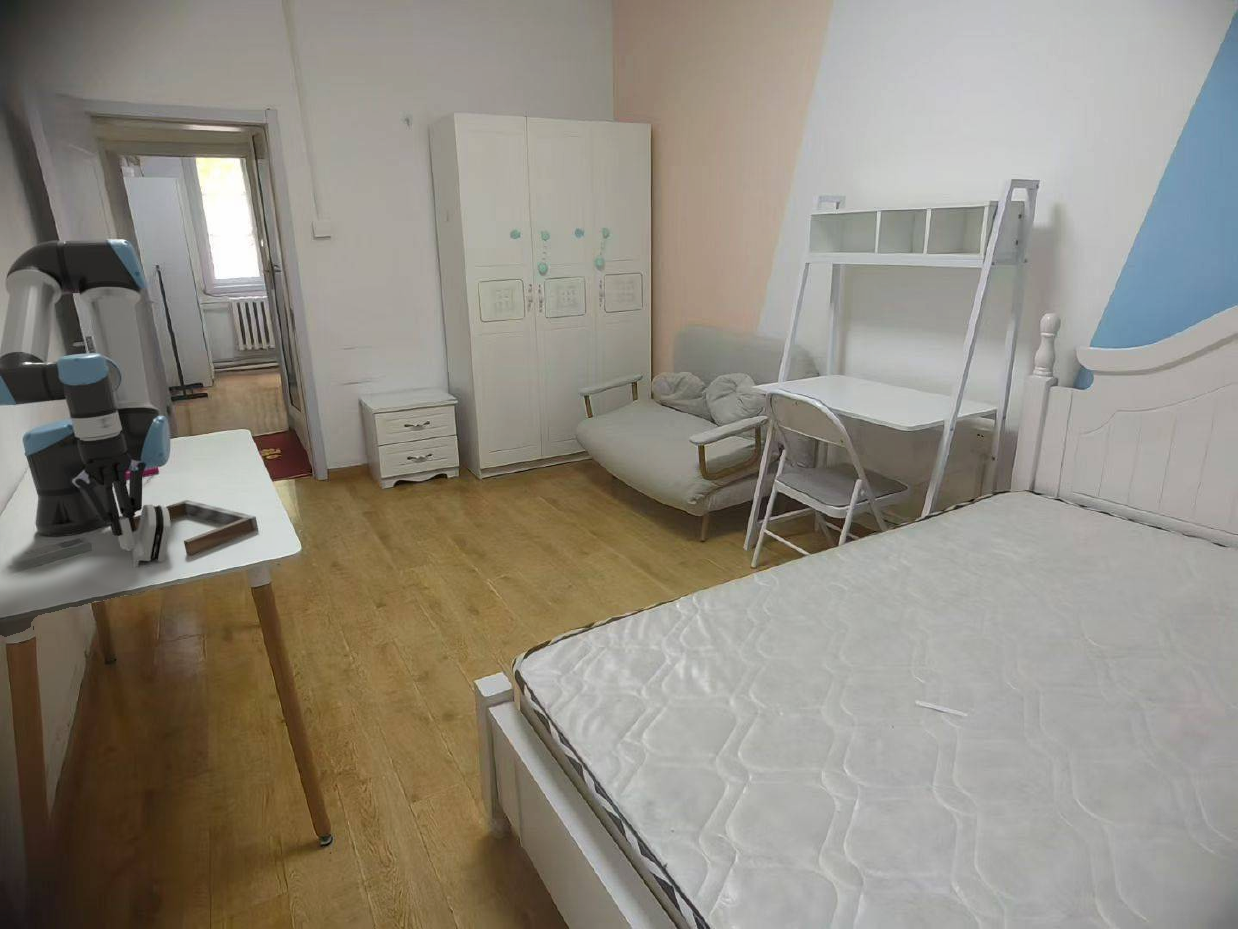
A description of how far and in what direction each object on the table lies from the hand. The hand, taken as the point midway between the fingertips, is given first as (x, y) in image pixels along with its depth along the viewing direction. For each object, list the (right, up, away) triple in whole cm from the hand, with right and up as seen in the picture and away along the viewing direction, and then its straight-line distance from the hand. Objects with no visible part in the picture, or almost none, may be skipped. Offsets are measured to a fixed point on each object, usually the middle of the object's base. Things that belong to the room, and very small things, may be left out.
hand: (128, 548), depth 148 cm
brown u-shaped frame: (+6, +2, +11) cm, 13 cm away
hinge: (+4, -1, +3) cm, 5 cm away
